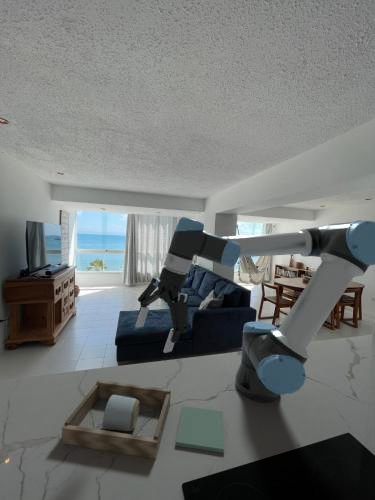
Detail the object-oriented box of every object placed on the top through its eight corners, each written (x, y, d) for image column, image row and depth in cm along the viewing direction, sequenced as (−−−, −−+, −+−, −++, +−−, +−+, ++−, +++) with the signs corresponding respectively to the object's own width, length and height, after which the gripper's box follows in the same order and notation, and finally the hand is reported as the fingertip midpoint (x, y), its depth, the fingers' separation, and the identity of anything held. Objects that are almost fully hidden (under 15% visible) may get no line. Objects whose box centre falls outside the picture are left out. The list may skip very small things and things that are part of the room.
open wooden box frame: (170, 404, 68) (170, 389, 68) (156, 458, 51) (156, 438, 51) (97, 395, 71) (97, 380, 71) (61, 443, 54) (62, 423, 54)
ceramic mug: (132, 439, 56) (134, 410, 56) (101, 436, 56) (102, 407, 56) (142, 408, 67) (143, 383, 67) (116, 406, 67) (117, 381, 67)
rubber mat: (221, 414, 66) (222, 411, 66) (223, 453, 54) (224, 449, 54) (182, 409, 67) (182, 406, 67) (175, 445, 55) (175, 441, 55)
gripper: (140, 255, 69) (119, 318, 70) (200, 286, 53) (172, 367, 54) (157, 259, 74) (138, 317, 75) (216, 287, 58) (190, 360, 59)
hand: (152, 338), depth 64 cm, fingers open, 13 cm apart
